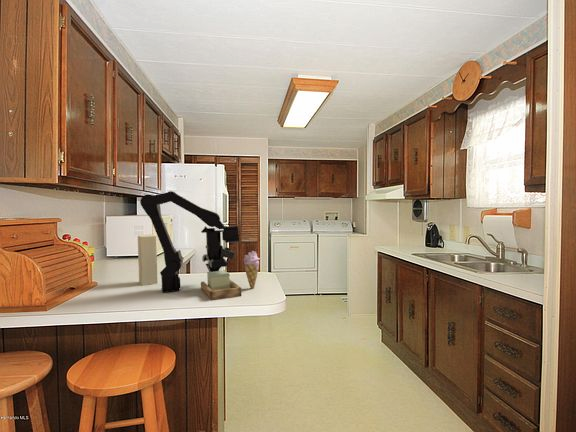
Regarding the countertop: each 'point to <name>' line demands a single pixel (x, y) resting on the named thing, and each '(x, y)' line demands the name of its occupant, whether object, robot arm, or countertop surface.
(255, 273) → the ice cream cone
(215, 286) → the pale green block
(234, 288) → the bay
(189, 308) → the countertop surface
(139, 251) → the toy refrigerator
